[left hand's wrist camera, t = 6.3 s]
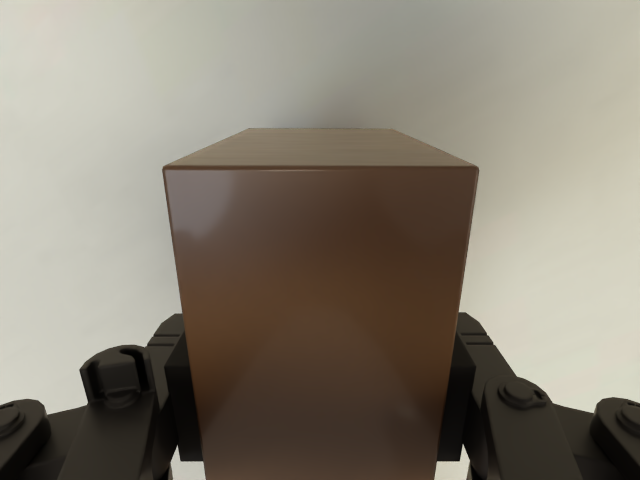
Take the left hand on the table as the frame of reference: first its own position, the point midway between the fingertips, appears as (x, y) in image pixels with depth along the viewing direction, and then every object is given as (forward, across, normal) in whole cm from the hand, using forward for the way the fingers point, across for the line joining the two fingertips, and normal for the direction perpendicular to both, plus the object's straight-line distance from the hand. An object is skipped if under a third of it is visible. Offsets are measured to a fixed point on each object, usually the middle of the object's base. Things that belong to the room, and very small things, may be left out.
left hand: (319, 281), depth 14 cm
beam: (0, 0, -32) cm, 32 cm away
